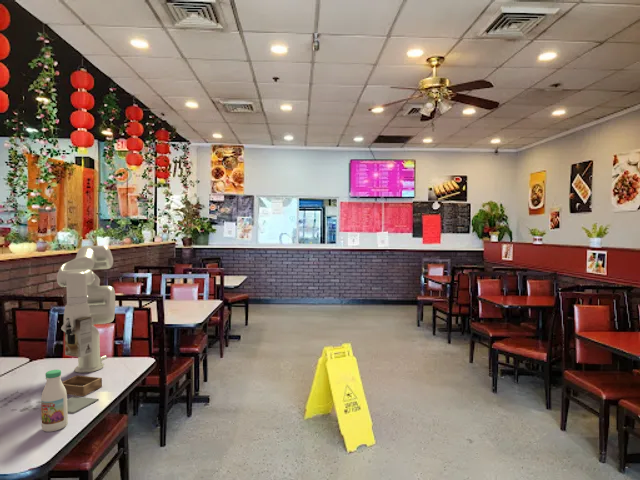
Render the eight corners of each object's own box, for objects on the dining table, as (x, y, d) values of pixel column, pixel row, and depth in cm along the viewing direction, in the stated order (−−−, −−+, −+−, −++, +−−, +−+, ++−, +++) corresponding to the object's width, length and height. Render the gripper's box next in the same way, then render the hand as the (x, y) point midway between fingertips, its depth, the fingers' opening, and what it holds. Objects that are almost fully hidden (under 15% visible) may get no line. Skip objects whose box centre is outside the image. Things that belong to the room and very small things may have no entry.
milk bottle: (49, 422, 149) (48, 367, 148) (72, 421, 149) (70, 367, 148) (37, 433, 141) (35, 375, 140) (60, 432, 142) (58, 375, 141)
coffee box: (64, 355, 175) (63, 318, 175) (77, 351, 181) (76, 315, 181) (80, 357, 172) (79, 319, 172) (93, 353, 178) (92, 316, 178)
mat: (74, 397, 170) (74, 396, 170) (98, 400, 167) (98, 398, 167) (48, 410, 158) (48, 408, 158) (73, 413, 155) (73, 412, 155)
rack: (77, 384, 184) (76, 375, 184) (102, 386, 181) (101, 377, 181) (57, 393, 174) (56, 384, 174) (83, 396, 171) (82, 386, 171)
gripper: (86, 296, 185) (87, 335, 186) (52, 303, 168) (53, 346, 169) (100, 297, 183) (101, 336, 184) (67, 304, 167) (68, 348, 167)
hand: (78, 341), depth 177 cm, fingers closed on coffee box, 6 cm apart
